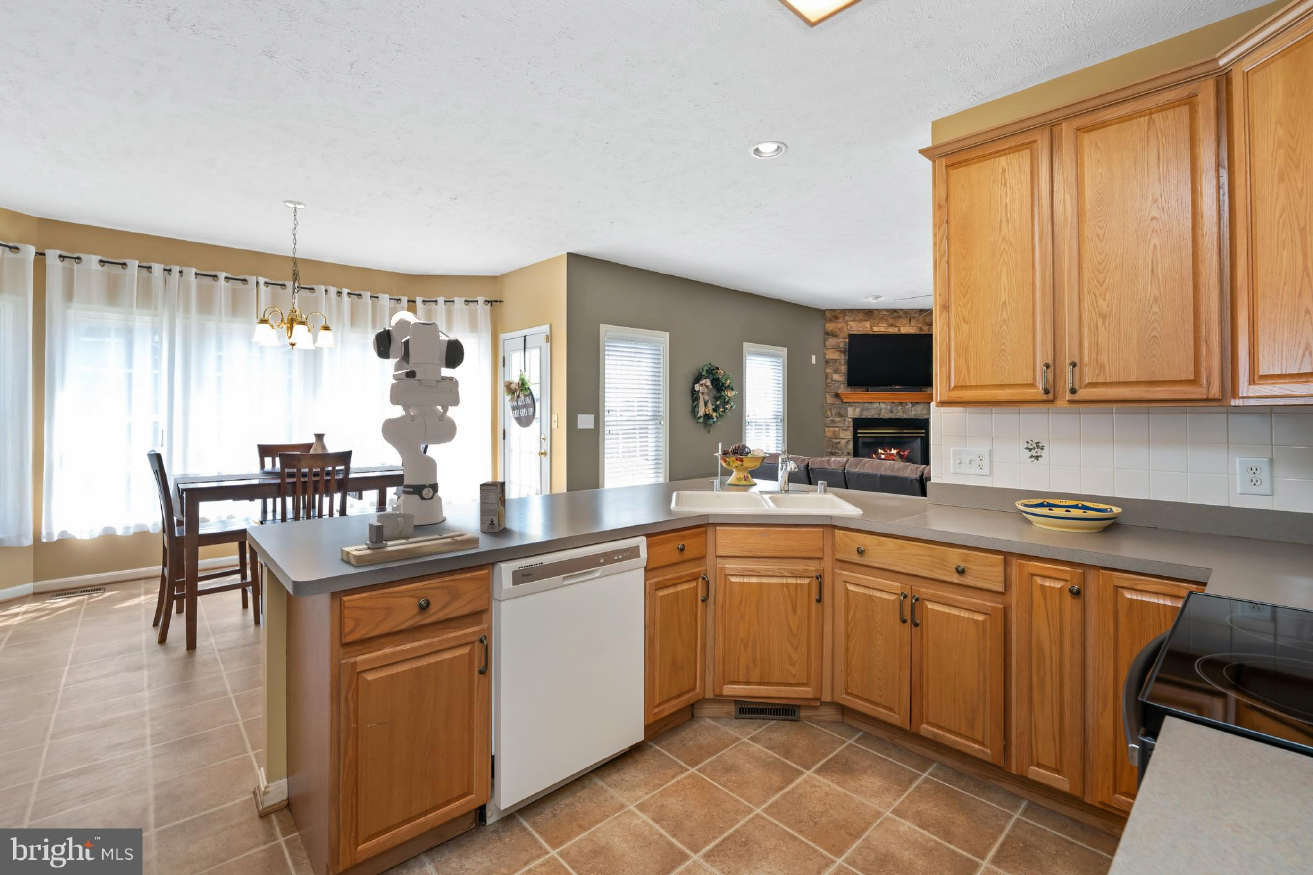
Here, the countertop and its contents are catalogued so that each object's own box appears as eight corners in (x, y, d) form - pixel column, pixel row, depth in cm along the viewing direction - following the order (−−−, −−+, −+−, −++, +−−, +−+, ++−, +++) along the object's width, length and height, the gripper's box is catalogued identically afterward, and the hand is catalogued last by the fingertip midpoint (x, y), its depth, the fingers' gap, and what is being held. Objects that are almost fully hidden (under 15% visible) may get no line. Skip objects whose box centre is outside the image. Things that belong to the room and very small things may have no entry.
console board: (341, 558, 162) (341, 546, 162) (459, 540, 186) (459, 530, 186) (356, 566, 154) (356, 554, 154) (479, 546, 178) (479, 536, 178)
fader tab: (365, 545, 163) (364, 523, 163) (380, 543, 166) (380, 521, 166) (371, 548, 160) (371, 525, 159) (387, 546, 162) (387, 524, 162)
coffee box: (487, 526, 210) (487, 480, 209) (506, 527, 210) (506, 481, 209) (479, 531, 201) (479, 483, 200) (498, 532, 201) (498, 484, 200)
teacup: (377, 537, 191) (377, 512, 190) (414, 535, 195) (414, 510, 195) (375, 546, 178) (375, 519, 178) (415, 543, 182) (415, 517, 182)
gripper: (453, 377, 189) (454, 421, 190) (387, 373, 175) (387, 421, 175) (463, 376, 185) (463, 421, 185) (395, 372, 171) (396, 420, 171)
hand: (426, 421), depth 180 cm, fingers open, 8 cm apart
